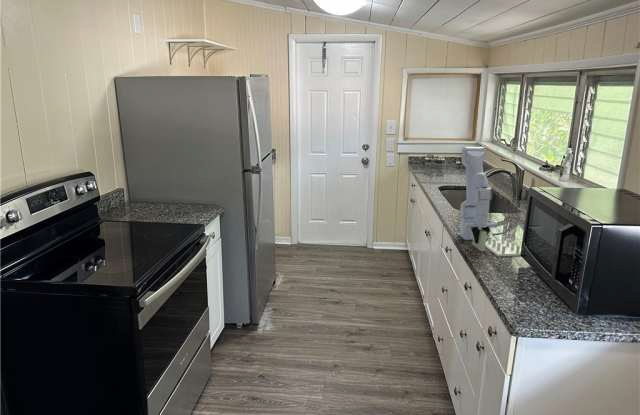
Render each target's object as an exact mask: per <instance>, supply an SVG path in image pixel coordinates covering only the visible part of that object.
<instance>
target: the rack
mask: <svg viewBox="0 0 640 415" xmlns="http://www.w3.org/2000/svg"><path fill="white" fill-rule="evenodd" d="M510 241H511V240H510V238H506V236H505V235H502V236H501V240H497V239H495V238H493V237H492V236H491V235H488V240H486V246H485V249H487V250H488V251H490V252H491V253H492V254H493V255H495V256H496V257H521V256H520V251H521V250H522V249H521V246H520V245H518V244H517V245H515V242H514V241H511V242H510Z"/></svg>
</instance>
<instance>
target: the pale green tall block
mask: <svg viewBox="0 0 640 415" xmlns="http://www.w3.org/2000/svg"><path fill="white" fill-rule="evenodd" d="M478 229H479V230H480V233H479V239H478V244H476V243H475V241H474V236H473V240H472V242H471V243H472V246H473V247H475V248H476V249H477V250H478V251H480V252H486V247H485V246H486V241H487V236H488V234H487V232H486V231H485V230H483V229H482V228H478ZM486 235H487V236H486Z"/></svg>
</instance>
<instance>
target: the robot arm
mask: <svg viewBox="0 0 640 415" xmlns="http://www.w3.org/2000/svg"><path fill="white" fill-rule="evenodd" d="M486 155H487V154H486V148H485V146H464V147H463V148H462V149H461V165H463V166H464V167H465V182H466V184H465V186H466V187H465V189H466V195H465V196H466V198H465V199H466V200H464V201H463V202H461V204H460V209H459V216H460V219H461V220H460V224H459V232H457V235H458V236H459V237H460V238H462V239H463V240H465V241H469V240H470V241H471V240H472V241H473V236H474V241H475V243H476V244H478V239H479V233H480V230H479V229H478V228H482V229H483V230H485V231H486V232H487V235H486V237H488V234H489V233H490V232H491V229H490V228H497V227H498V223H497V222H495V221H494V222H493V221H489V212H490V201H491V200H492V198H493V189H492V187H491V186H490V184H489V181H488V176H487V174H485V173H484V165H483V164H484V163H483V162H484V160H485V157H486Z"/></svg>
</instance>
